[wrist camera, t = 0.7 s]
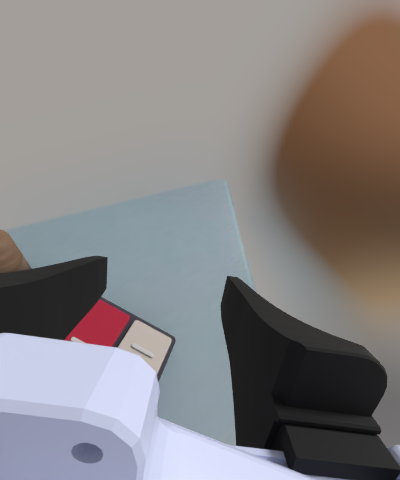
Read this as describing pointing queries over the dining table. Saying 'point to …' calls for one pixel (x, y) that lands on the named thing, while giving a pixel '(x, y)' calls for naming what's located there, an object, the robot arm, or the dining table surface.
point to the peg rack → (10, 255)
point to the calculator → (124, 334)
